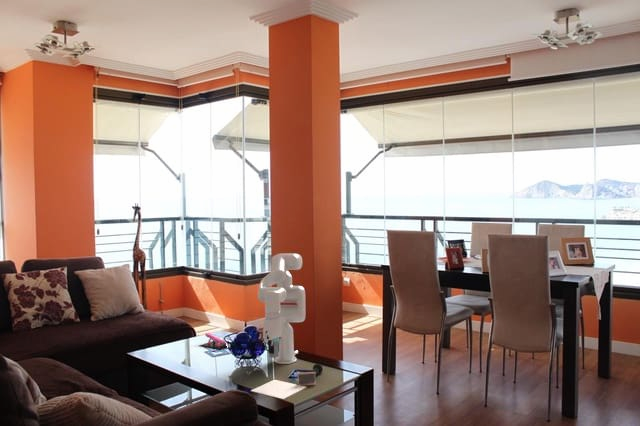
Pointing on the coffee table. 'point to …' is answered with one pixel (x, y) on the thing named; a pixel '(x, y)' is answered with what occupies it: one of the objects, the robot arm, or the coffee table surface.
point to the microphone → (317, 368)
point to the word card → (306, 378)
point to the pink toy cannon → (214, 343)
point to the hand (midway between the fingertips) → (273, 352)
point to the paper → (278, 389)
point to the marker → (275, 344)
